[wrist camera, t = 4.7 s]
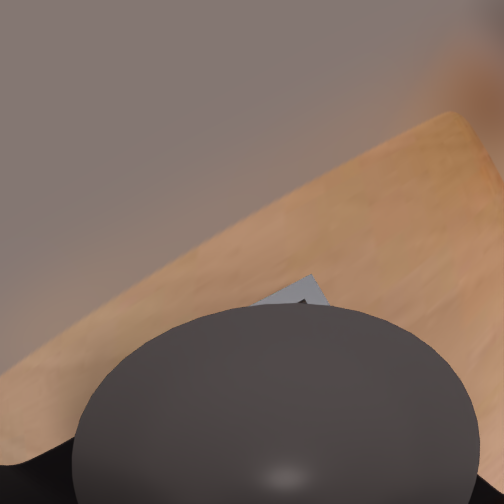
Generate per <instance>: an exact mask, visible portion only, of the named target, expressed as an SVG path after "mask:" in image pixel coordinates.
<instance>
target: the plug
mask: <svg viewBox="0 0 504 504" xmlns="http://www.w3.org/2000/svg"><path fill="white" fill-rule="evenodd" d="M479 457H480V437H479V429H478V422H477V418H476V415H475V411H474V408H473V405H472V402H471V399H470V397H469V395H468V393H467V391H466V389H465V387H464V385H463V383H462V382H461V380H460V379H459V377H458V376H457V375H456V373H455V372H454V371H453V369H452V368H451V367H450V365H449V364H448V363H447V362H446V361H445V360H444V359H443V358H442V357H441V356H440V355H439V354H438V353H437V352H436V351H435V350H434V349H433V348H432V347H430V346H429V345H427V344H426V343H425V342H423V341H422V340H420V339H419V338H417V337H416V336H415V335H413V334H412V333H410V332H408V331H406V330H404V329H402V328H400V327H398V326H396V325H394V324H392V323H390V322H388V321H386V320H383V319H380V318H377V317H374V316H371V315H368V314H365V313H362V312H359V311H354V310H349V309H344V308H339V307H334V306H329V305H316V304H303V303H284V304H262V305H255V306H249V307H242V308H235V309H230V310H226V311H222V312H218V313H215V314H211V315H207V316H203V317H200V318H197V319H195V320H192V321H190V322H187V323H185V324H182V325H180V326H177V327H175V328H172V329H170V330H168V331H167V332H165V333H163V334H161V335H159V336H157V337H156V338H154V339H152V340H150V341H148V342H146V343H145V344H144V345H142V346H141V347H140V348H138V349H137V350H135V351H134V352H133V353H131V354H130V355H129V356H127V357H126V358H125V359H123V360H122V361H121V362H120V363H119V364H118V365H117V366H116V367H115V368H114V369H113V370H112V371H111V372H110V373H109V374H108V375H107V376H106V377H105V379H104V380H103V381H102V383H101V384H100V385H99V387H98V388H97V389H96V391H95V392H94V393H93V395H92V396H91V398H90V400H89V402H88V404H87V406H86V408H85V410H84V412H83V414H82V416H81V418H80V421H79V424H78V428H77V431H76V434H75V438H74V445H73V452H72V478H73V484H74V489H75V494H76V499H77V502H78V504H468V503H469V500H470V497H471V494H472V491H473V488H474V485H475V482H476V477H477V472H478V466H479Z"/></svg>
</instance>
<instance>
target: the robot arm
mask: <svg viewBox="0 0 504 504" xmlns="http://www.w3.org/2000/svg"><path fill="white" fill-rule="evenodd" d="M74 438H75V437H73V438H71V439H70V440H68V441H66V442H64V443H62V444H61V445H59V446H57V447H55V448H53V449H51V450H49V451H47V452H45V453H43V454H41V455H39V456H37V457H35V458H33V459H31V460H29V461H26V462H24V463H20V464H16V465H7V466H6V465H0V504H78V502H77V499H76V494H75V489H74V484H73V478H72V452H73V445H74ZM468 504H504V494H502V493H501V492H499V491H498V490H496V489H495V488H494V487H493V486H491V485H490V484H489V483H488V482H486V481H485V480H484V479H483V478H481V477H480V476H479V475H478V474H477V477H476V482H475V485H474V488H473V491H472V494H471V497H470V500H469V503H468Z"/></svg>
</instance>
